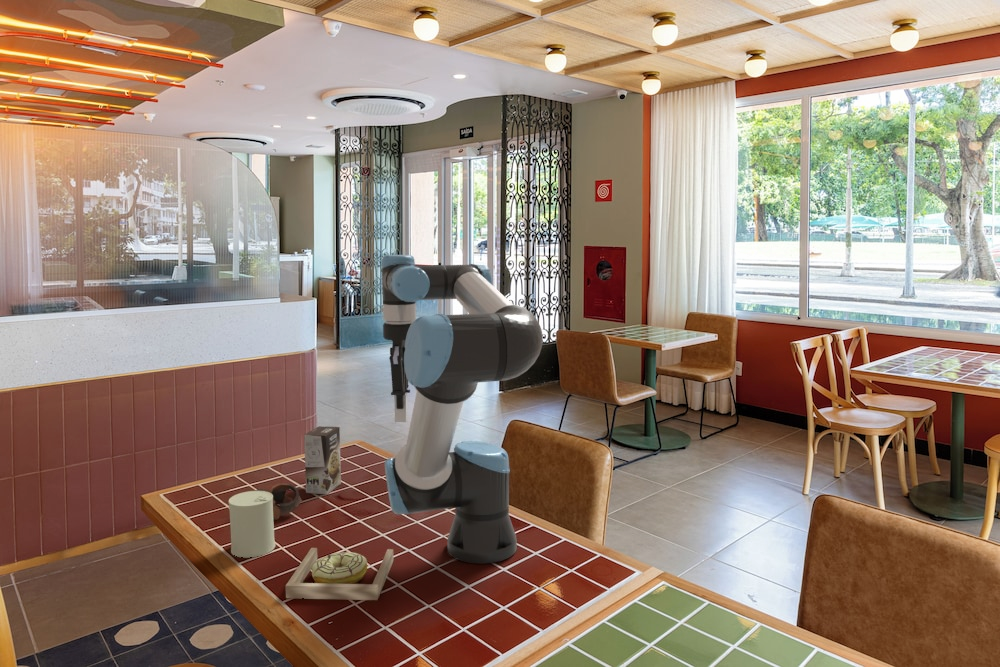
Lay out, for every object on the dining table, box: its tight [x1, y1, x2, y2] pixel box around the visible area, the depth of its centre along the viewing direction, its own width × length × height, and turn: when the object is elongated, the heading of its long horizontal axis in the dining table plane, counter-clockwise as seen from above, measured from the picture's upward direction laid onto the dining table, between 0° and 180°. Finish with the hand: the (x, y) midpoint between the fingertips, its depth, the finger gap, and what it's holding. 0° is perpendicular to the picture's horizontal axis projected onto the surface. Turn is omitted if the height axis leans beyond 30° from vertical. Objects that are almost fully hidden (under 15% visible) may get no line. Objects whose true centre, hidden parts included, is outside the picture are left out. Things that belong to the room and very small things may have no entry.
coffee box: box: [303, 425, 342, 495], centre depth 189 cm, size 9×6×16 cm
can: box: [228, 490, 276, 559], centre depth 153 cm, size 9×9×12 cm
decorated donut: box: [311, 551, 368, 584], centre depth 141 cm, size 10×11×4 cm
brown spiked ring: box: [254, 482, 302, 521], centre depth 173 cm, size 12×10×8 cm
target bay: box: [284, 547, 395, 601], centre depth 140 cm, size 17×16×2 cm
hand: (401, 420), depth 166 cm, fingers closed
